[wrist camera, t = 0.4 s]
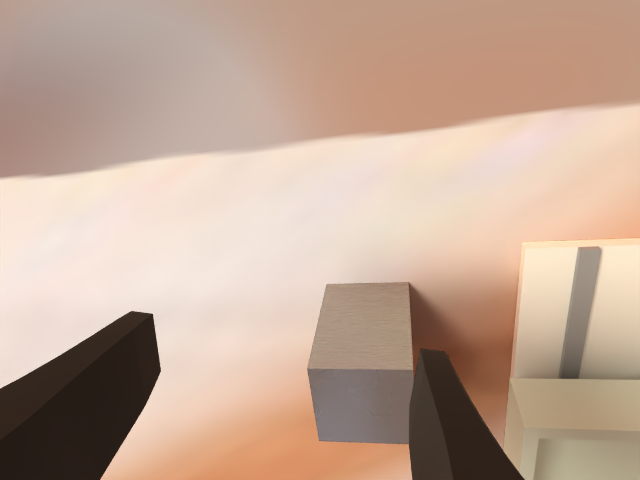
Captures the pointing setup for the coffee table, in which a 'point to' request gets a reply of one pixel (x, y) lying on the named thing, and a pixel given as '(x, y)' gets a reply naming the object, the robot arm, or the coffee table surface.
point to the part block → (363, 364)
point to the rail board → (578, 310)
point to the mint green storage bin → (573, 429)
